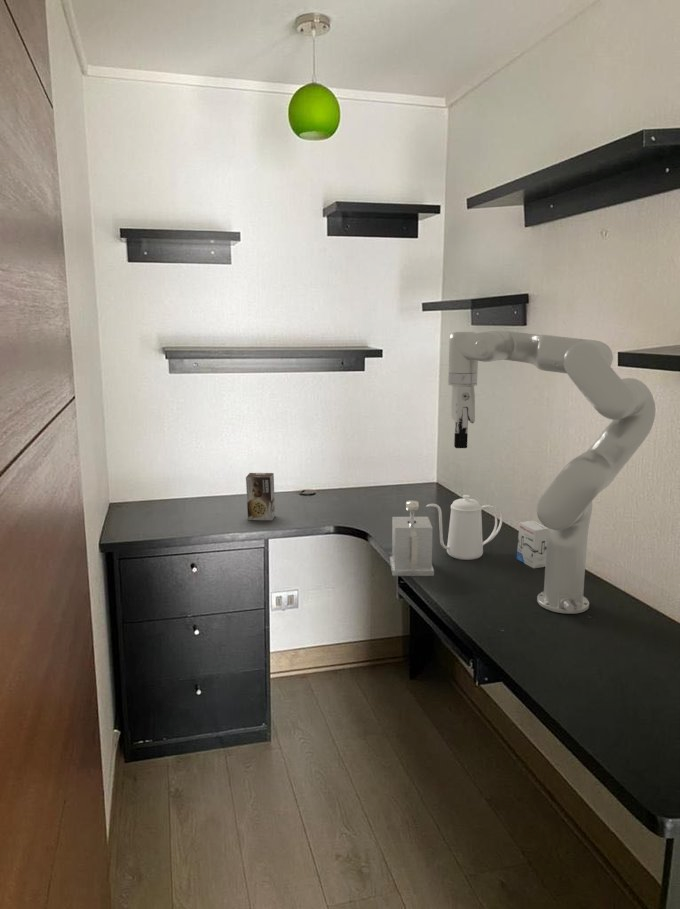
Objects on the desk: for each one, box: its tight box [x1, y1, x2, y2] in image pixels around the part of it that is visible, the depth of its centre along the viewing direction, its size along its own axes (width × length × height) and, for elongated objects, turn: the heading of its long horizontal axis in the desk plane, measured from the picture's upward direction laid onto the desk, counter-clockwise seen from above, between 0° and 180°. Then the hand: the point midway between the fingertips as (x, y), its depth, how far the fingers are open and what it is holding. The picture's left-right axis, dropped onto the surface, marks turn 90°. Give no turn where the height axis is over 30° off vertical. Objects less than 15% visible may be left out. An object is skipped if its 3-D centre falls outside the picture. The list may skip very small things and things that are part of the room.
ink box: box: [516, 520, 548, 569], centre depth 202 cm, size 9×5×12 cm, turn 21°
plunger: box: [405, 499, 420, 523], centre depth 197 cm, size 7×7×18 cm
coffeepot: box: [425, 494, 504, 561], centre depth 208 cm, size 11×25×19 cm, turn 105°
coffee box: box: [245, 472, 276, 521], centre depth 247 cm, size 9×6×16 cm
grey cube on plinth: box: [389, 516, 435, 577], centre depth 197 cm, size 14×12×14 cm
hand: (460, 447), depth 185 cm, fingers closed
